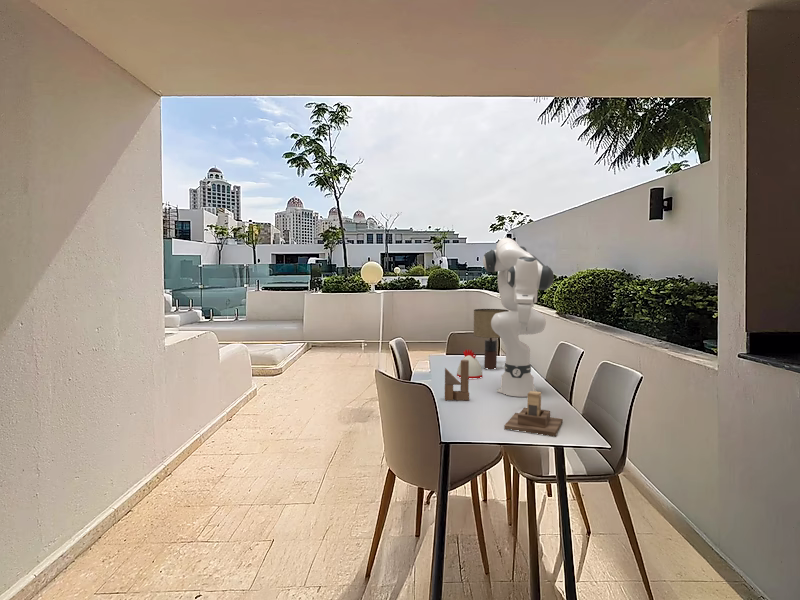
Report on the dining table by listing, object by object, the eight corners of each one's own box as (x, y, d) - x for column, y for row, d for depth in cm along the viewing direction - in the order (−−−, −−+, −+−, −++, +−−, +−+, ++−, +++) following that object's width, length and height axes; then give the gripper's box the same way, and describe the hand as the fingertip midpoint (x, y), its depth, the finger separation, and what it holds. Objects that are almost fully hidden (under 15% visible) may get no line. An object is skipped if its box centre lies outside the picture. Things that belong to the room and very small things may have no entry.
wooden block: (444, 398, 222) (444, 359, 221) (468, 398, 222) (468, 359, 221) (445, 400, 219) (445, 360, 218) (469, 400, 219) (469, 360, 218)
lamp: (483, 364, 304) (484, 308, 302) (513, 368, 292) (514, 309, 290) (466, 369, 289) (467, 310, 287) (497, 373, 276) (498, 312, 274)
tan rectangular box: (529, 419, 186) (530, 390, 186) (540, 420, 184) (541, 392, 184) (526, 423, 181) (527, 394, 181) (537, 424, 180) (538, 395, 179)
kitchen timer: (466, 373, 279) (467, 346, 278) (487, 376, 269) (487, 349, 268) (451, 376, 269) (452, 349, 268) (472, 380, 259) (472, 352, 258)
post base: (515, 416, 195) (515, 404, 195) (562, 422, 187) (562, 409, 187) (504, 429, 179) (504, 416, 179) (555, 436, 171) (555, 422, 171)
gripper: (519, 296, 205) (517, 329, 206) (515, 298, 185) (514, 335, 186) (534, 296, 203) (533, 329, 204) (533, 299, 183) (531, 336, 184)
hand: (524, 332), depth 195 cm, fingers open, 8 cm apart
